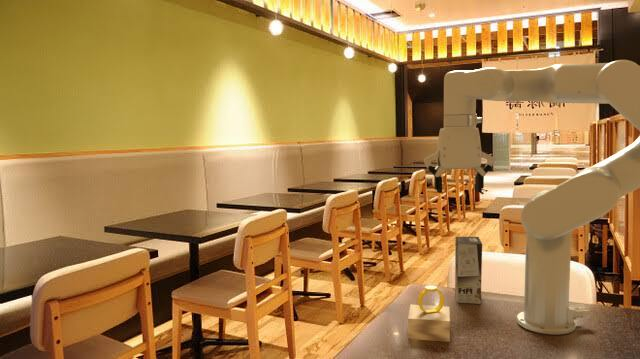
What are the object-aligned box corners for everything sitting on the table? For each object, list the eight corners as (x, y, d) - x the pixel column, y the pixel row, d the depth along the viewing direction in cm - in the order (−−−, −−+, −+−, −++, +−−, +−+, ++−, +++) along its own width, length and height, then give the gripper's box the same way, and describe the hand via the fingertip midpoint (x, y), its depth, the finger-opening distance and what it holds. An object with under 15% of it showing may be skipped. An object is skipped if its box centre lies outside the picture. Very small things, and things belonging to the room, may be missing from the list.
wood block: (449, 327, 122) (449, 306, 122) (449, 343, 113) (449, 321, 113) (410, 324, 124) (410, 304, 124) (408, 340, 115) (408, 318, 115)
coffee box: (481, 304, 135) (482, 243, 134) (456, 303, 137) (457, 243, 135) (478, 292, 144) (479, 236, 142) (454, 291, 146) (455, 235, 144)
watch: (422, 316, 116) (420, 291, 116) (417, 312, 119) (415, 287, 118) (446, 311, 118) (445, 286, 117) (440, 307, 121) (439, 283, 120)
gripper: (490, 121, 130) (489, 189, 132) (421, 123, 130) (421, 190, 132) (500, 121, 122) (499, 193, 124) (426, 123, 123) (426, 195, 125)
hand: (458, 192), depth 128 cm, fingers open, 9 cm apart
